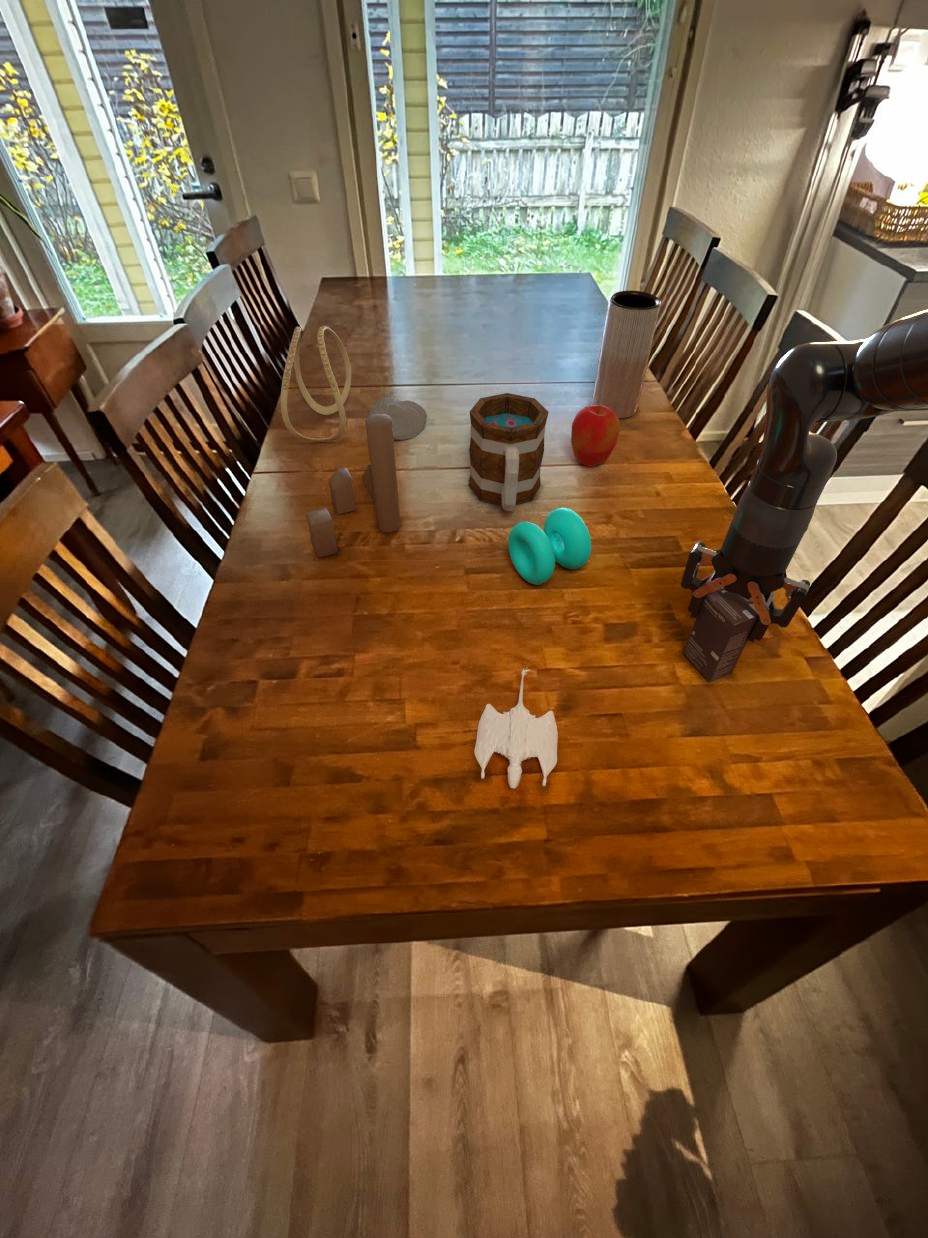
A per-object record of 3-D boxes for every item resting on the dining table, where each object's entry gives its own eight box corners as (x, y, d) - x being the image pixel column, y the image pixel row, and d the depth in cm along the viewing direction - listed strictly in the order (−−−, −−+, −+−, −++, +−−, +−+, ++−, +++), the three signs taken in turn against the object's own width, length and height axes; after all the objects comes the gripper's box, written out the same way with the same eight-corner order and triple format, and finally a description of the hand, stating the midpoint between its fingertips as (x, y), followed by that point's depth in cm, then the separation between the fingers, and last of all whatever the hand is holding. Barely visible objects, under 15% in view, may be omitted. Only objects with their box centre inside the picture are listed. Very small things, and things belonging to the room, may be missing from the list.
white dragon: (484, 676, 86) (485, 657, 83) (559, 684, 85) (563, 665, 82) (468, 796, 73) (468, 778, 70) (555, 807, 72) (559, 789, 69)
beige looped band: (350, 453, 125) (336, 353, 110) (290, 456, 124) (268, 355, 110) (355, 402, 140) (343, 307, 125) (301, 403, 139) (283, 309, 124)
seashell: (377, 414, 136) (361, 431, 128) (380, 389, 132) (363, 404, 124) (428, 429, 135) (415, 447, 127) (432, 404, 132) (419, 420, 124)
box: (679, 654, 89) (703, 592, 80) (705, 645, 90) (731, 583, 81) (706, 685, 85) (734, 624, 76) (733, 675, 86) (764, 614, 77)
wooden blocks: (379, 474, 120) (368, 372, 105) (414, 533, 107) (408, 427, 93) (291, 494, 115) (267, 390, 101) (317, 558, 103) (295, 450, 88)
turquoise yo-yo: (589, 577, 100) (600, 527, 93) (538, 599, 96) (545, 549, 89) (552, 542, 106) (559, 493, 99) (503, 562, 102) (506, 512, 95)
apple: (590, 480, 119) (600, 422, 110) (556, 460, 124) (564, 403, 115) (622, 463, 123) (635, 406, 114) (589, 444, 128) (598, 388, 119)
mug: (468, 465, 122) (469, 392, 111) (537, 466, 122) (544, 392, 111) (469, 528, 108) (470, 452, 98) (547, 528, 108) (556, 452, 98)
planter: (584, 399, 141) (601, 291, 125) (625, 395, 143) (647, 288, 126) (601, 421, 134) (621, 310, 118) (644, 416, 136) (670, 306, 120)
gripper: (694, 519, 70) (660, 621, 82) (828, 566, 65) (771, 668, 77) (715, 487, 75) (680, 588, 87) (843, 529, 69) (786, 630, 81)
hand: (723, 625), depth 82 cm, fingers closed on box, 7 cm apart
